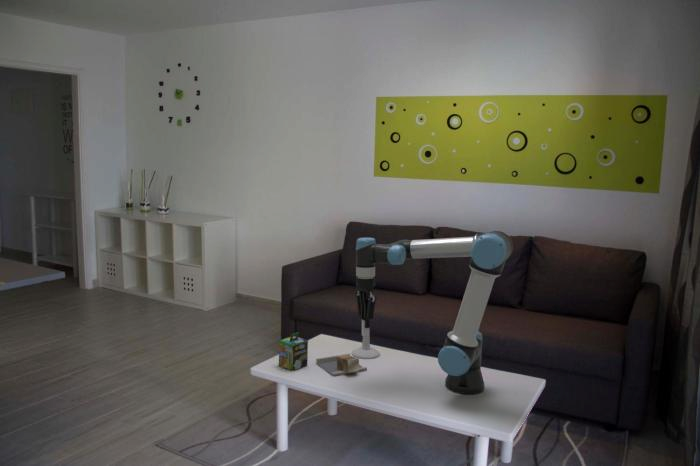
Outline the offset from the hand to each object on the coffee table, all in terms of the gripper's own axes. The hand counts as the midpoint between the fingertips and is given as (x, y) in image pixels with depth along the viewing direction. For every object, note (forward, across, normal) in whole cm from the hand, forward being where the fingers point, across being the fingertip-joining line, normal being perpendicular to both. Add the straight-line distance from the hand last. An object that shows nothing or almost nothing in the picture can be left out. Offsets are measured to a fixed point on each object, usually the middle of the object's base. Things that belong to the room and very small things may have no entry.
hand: (365, 335), depth 229 cm
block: (+14, +7, +2) cm, 16 cm away
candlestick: (+19, +28, -16) cm, 37 cm away
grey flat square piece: (+18, +18, +2) cm, 25 cm away
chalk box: (+18, +28, +20) cm, 38 cm away
